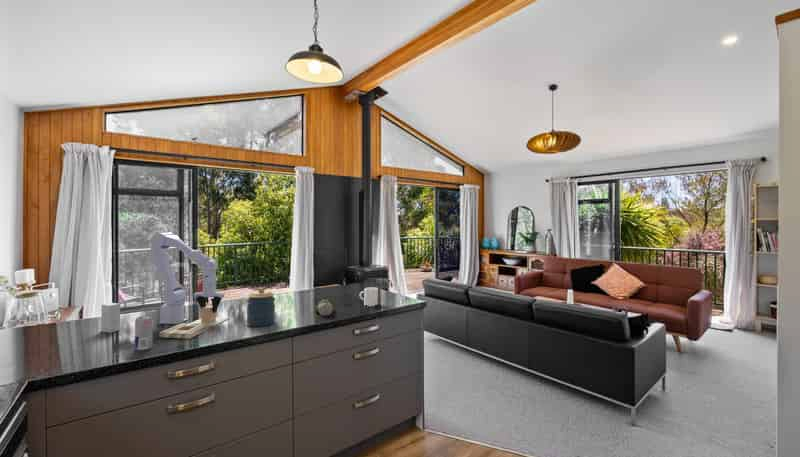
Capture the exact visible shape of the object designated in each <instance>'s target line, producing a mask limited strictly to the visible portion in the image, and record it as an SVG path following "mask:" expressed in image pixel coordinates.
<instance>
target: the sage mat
mask: <svg viewBox="0 0 800 457" xmlns="http://www.w3.org/2000/svg"><path fill="white" fill-rule="evenodd" d="M229 319H230V317H226V316H225V317H223V316H222V317H221V316H216V320H215V321H213V322H211V323H205V322H201V318H199V319H197V320H194V321H192V322H191V323H197V324H211V327H216V326H217V325H219V324H221V323H224V322H225V321H228V320H229Z"/></svg>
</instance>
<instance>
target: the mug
mask: <svg viewBox="0 0 800 457" xmlns="http://www.w3.org/2000/svg"><path fill="white" fill-rule="evenodd" d="M362 294H363V296H362ZM358 296H359V298H360V299H361V300H362V301H363V305H364V306H365V305H367V306H366V307H376V306H375V305H377V304H378V303H379V302H378V301H379V299H378V298H379V288H378V287H375V286H374V287H373V286H372V287H370V286H369V287H365V288H364V290H362V291H360V292H359V295H358ZM378 305H379V304H378ZM378 305H377V306H378Z"/></svg>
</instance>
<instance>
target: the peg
mask: <svg viewBox="0 0 800 457" xmlns="http://www.w3.org/2000/svg"><path fill="white" fill-rule="evenodd" d="M200 312H201V313H200V314H201V316H200V319H201V322H205V323H211V322H213V321H215V320H216V317H217V312H215V313H213V306H212V305H206V306H205V307H202V308H200Z"/></svg>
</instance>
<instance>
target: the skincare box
mask: <svg viewBox="0 0 800 457" xmlns="http://www.w3.org/2000/svg"><path fill="white" fill-rule="evenodd" d="M100 306H101V307H100V308H101V309H100V310H101V316H100V317H101V322H100V323H101V332H104V333H115V332H118V331H121V303H118V302H117V303H116V302H107V303H103V304H101V305H100Z"/></svg>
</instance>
